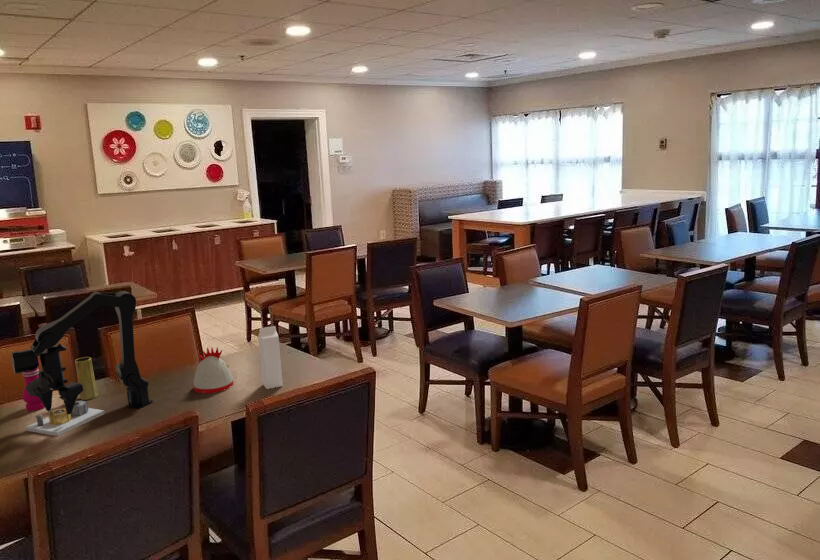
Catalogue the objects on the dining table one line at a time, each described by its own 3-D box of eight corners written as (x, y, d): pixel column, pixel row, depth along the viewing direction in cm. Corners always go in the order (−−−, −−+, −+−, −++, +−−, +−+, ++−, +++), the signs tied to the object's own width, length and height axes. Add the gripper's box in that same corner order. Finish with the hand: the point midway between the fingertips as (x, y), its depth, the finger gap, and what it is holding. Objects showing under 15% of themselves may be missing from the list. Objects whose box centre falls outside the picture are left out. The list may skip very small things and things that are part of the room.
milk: (262, 384, 236) (256, 326, 232) (278, 381, 238) (273, 324, 234) (266, 389, 230) (260, 330, 226) (283, 386, 233) (277, 327, 229)
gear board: (105, 413, 215) (102, 399, 214) (57, 436, 199) (55, 420, 198) (75, 409, 220) (72, 394, 219) (26, 430, 204) (23, 415, 203)
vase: (90, 400, 228) (84, 362, 225) (75, 400, 229) (69, 361, 226) (101, 394, 234) (96, 356, 231) (87, 393, 235) (81, 356, 232)
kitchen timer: (232, 390, 231) (228, 351, 228) (192, 395, 228) (187, 355, 225) (234, 378, 244) (230, 340, 241) (196, 382, 242) (192, 344, 239)
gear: (75, 418, 209) (74, 409, 208) (59, 425, 203) (57, 416, 203) (62, 416, 211) (60, 407, 211) (45, 423, 206) (44, 414, 205)
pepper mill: (24, 413, 219) (14, 357, 215) (25, 406, 225) (15, 351, 221) (48, 408, 222) (39, 353, 218) (48, 402, 228) (39, 348, 224)
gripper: (7, 371, 200) (15, 418, 203) (49, 377, 193) (57, 426, 196) (39, 360, 210) (47, 405, 213) (81, 365, 203) (88, 412, 206)
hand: (59, 412), depth 207 cm, fingers open, 9 cm apart
